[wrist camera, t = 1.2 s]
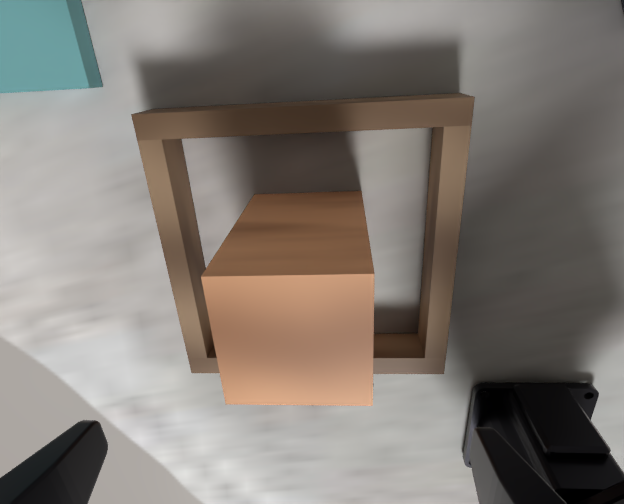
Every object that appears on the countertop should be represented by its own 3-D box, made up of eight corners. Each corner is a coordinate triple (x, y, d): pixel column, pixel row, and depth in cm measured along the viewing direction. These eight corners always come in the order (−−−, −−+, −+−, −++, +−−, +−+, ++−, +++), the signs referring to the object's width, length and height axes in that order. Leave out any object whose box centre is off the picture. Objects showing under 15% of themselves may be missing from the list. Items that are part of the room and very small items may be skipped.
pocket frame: (435, 348, 22) (443, 373, 20) (203, 348, 23) (191, 373, 21) (460, 92, 16) (474, 97, 15) (153, 108, 17) (131, 114, 16)
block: (361, 285, 21) (372, 405, 13) (265, 286, 21) (225, 404, 14) (361, 190, 18) (374, 273, 11) (254, 194, 19) (200, 276, 12)
